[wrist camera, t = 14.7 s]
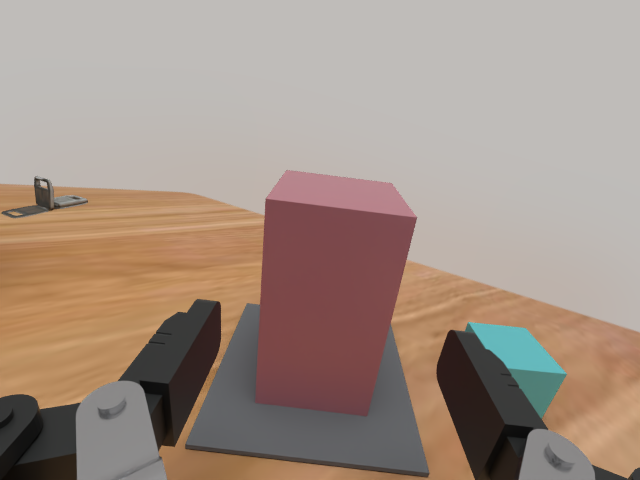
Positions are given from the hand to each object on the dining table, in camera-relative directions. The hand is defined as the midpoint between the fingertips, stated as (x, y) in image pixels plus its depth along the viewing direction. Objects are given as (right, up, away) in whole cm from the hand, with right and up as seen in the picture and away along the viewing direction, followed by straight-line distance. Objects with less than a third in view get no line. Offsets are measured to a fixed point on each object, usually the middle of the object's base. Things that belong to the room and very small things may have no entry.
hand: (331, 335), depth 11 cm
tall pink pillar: (-1, -5, +10) cm, 11 cm away
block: (+11, -7, +10) cm, 17 cm away
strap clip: (-35, +7, +30) cm, 47 cm away
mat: (-1, -5, +10) cm, 11 cm away
